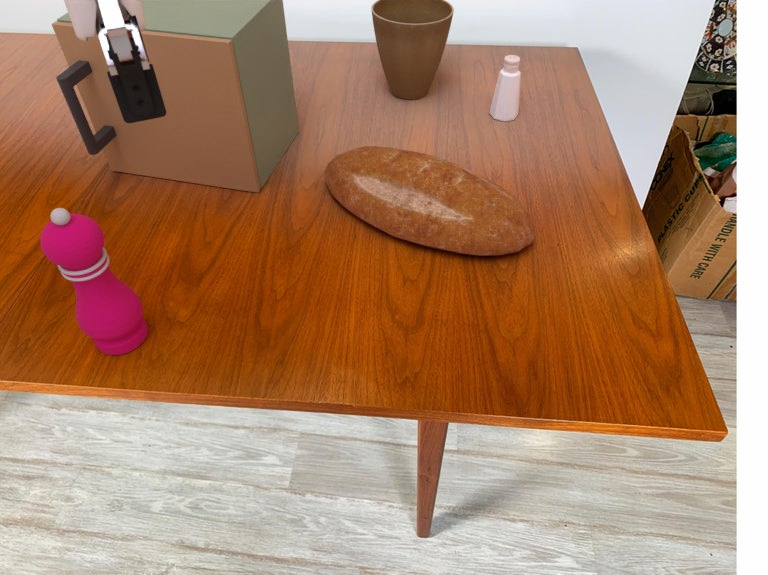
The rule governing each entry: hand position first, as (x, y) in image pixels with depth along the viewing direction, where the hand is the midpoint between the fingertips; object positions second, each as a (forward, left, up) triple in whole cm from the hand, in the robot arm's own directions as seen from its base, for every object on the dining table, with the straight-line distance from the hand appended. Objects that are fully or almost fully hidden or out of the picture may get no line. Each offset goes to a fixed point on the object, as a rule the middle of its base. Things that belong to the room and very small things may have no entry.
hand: (138, 90), depth 48 cm
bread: (+32, +17, -33) cm, 49 cm away
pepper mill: (-12, +4, -33) cm, 35 cm away
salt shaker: (+56, +40, -33) cm, 77 cm away
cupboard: (+2, +44, -33) cm, 55 cm away
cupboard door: (-4, +33, -33) cm, 47 cm away
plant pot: (+42, +54, -33) cm, 76 cm away
